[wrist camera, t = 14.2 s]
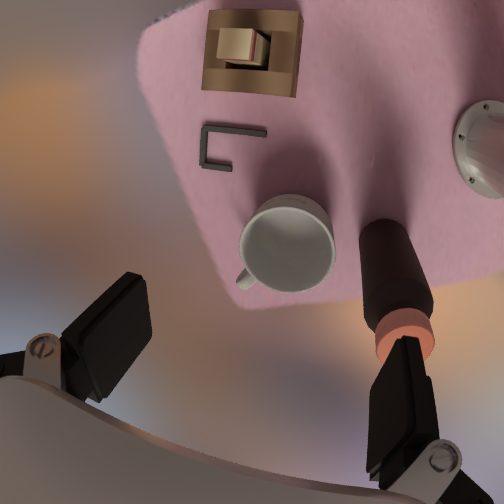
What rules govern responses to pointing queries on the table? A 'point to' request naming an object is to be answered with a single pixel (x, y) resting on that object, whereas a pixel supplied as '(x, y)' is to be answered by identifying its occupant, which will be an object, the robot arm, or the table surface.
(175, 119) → the table surface
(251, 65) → the red striped block
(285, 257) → the teacup
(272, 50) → the wooden square socket block
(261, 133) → the dark gray angular bracket
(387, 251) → the bottle
